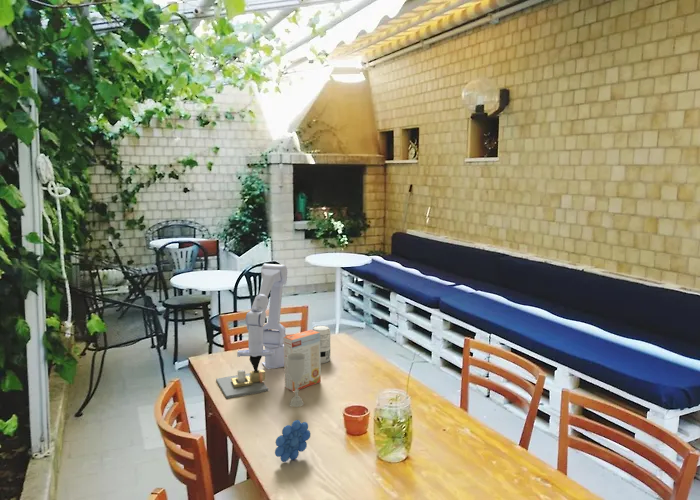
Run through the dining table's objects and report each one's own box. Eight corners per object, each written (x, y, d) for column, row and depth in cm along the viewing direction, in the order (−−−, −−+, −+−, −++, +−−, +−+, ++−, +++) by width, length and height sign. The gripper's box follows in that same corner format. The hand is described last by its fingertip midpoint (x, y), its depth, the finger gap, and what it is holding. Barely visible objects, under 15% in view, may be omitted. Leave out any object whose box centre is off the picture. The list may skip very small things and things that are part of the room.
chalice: (302, 409, 193) (302, 360, 191) (284, 407, 195) (283, 359, 192) (308, 400, 201) (308, 353, 198) (290, 398, 202) (290, 352, 199)
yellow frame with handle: (234, 387, 208) (234, 378, 208) (231, 380, 215) (230, 371, 214) (266, 382, 213) (266, 373, 212) (262, 376, 219) (262, 367, 219)
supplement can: (309, 362, 239) (309, 329, 236) (315, 356, 246) (315, 324, 244) (326, 364, 236) (326, 331, 234) (332, 358, 244) (332, 326, 242)
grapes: (303, 447, 167) (302, 410, 166) (314, 457, 162) (314, 419, 160) (268, 458, 161) (268, 420, 159) (279, 469, 155) (278, 430, 154)
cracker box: (311, 378, 221) (311, 328, 218) (321, 382, 217) (321, 332, 214) (283, 387, 212) (283, 335, 209) (292, 392, 208) (292, 339, 204)
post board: (255, 374, 224) (255, 360, 224) (268, 391, 208) (268, 376, 208) (216, 380, 218) (215, 366, 217) (226, 398, 202) (226, 383, 201)
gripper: (235, 343, 211) (236, 377, 213) (272, 344, 211) (273, 377, 213) (238, 338, 218) (239, 370, 220) (275, 338, 218) (275, 370, 220)
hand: (256, 373), depth 217 cm, fingers closed, pressing on yellow frame with handle
